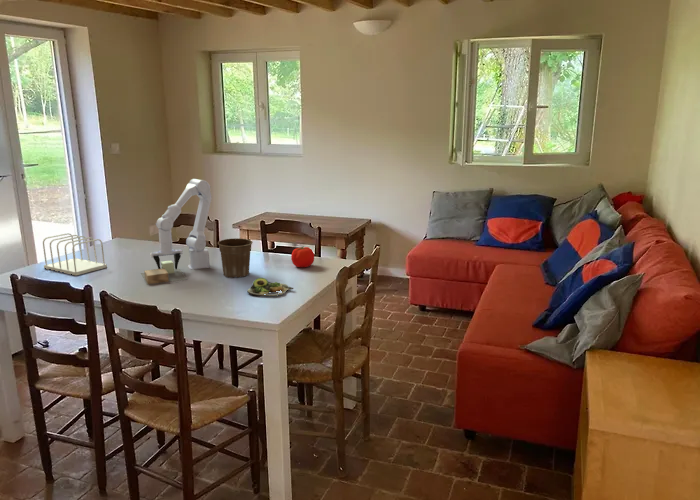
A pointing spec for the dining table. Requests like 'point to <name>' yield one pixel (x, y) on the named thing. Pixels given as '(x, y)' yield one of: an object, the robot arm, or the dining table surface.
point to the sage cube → (168, 266)
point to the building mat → (171, 276)
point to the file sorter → (75, 264)
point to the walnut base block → (156, 276)
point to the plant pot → (235, 257)
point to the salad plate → (267, 288)
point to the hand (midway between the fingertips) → (167, 269)
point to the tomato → (302, 257)
